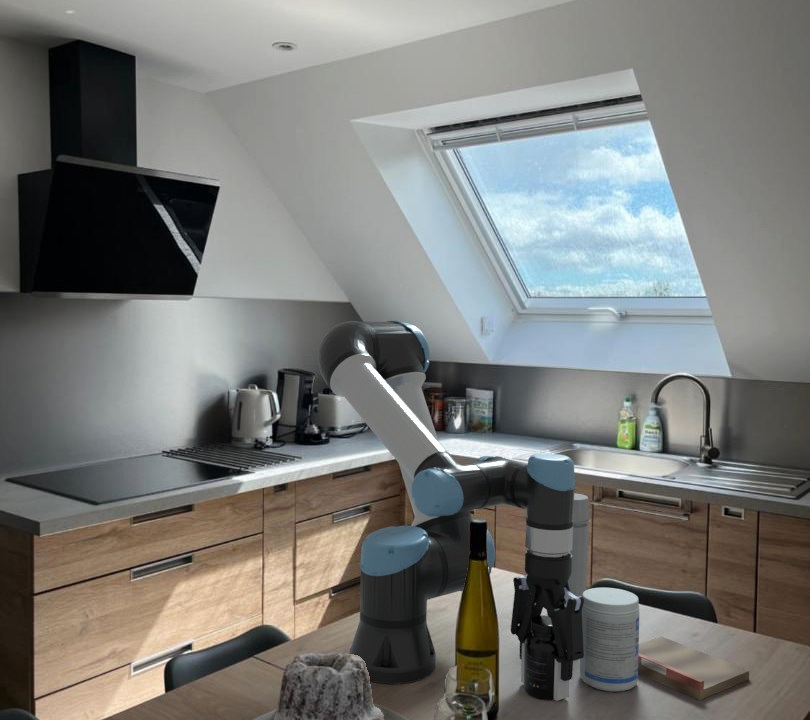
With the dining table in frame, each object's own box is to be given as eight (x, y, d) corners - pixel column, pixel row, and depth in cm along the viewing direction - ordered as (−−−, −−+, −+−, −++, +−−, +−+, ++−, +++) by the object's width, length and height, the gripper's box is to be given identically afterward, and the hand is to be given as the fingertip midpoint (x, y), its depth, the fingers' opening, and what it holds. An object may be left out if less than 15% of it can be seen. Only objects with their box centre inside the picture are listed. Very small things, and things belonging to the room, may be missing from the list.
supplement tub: (648, 690, 138) (651, 603, 137) (596, 696, 136) (599, 607, 135) (618, 666, 147) (621, 584, 147) (569, 671, 145) (571, 588, 144)
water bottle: (585, 626, 166) (590, 501, 165) (545, 621, 168) (549, 498, 167) (588, 610, 175) (593, 492, 174) (551, 606, 177) (554, 489, 176)
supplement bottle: (536, 679, 142) (538, 609, 141) (573, 691, 137) (575, 619, 137) (515, 692, 136) (517, 620, 136) (552, 705, 132) (554, 631, 131)
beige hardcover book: (611, 661, 149) (611, 644, 149) (661, 644, 158) (661, 628, 158) (698, 700, 135) (699, 682, 135) (748, 679, 143) (749, 662, 143)
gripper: (611, 562, 130) (606, 706, 131) (523, 533, 146) (519, 662, 147) (578, 570, 125) (573, 719, 127) (490, 539, 141) (487, 672, 143)
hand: (544, 688), depth 137 cm, fingers closed on supplement bottle, 7 cm apart
